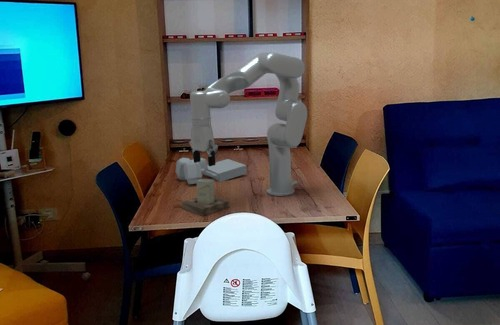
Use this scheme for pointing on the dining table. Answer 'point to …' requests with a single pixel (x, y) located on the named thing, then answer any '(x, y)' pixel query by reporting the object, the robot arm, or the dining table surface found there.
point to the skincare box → (205, 191)
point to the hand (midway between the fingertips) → (204, 163)
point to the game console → (208, 170)
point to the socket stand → (205, 206)
